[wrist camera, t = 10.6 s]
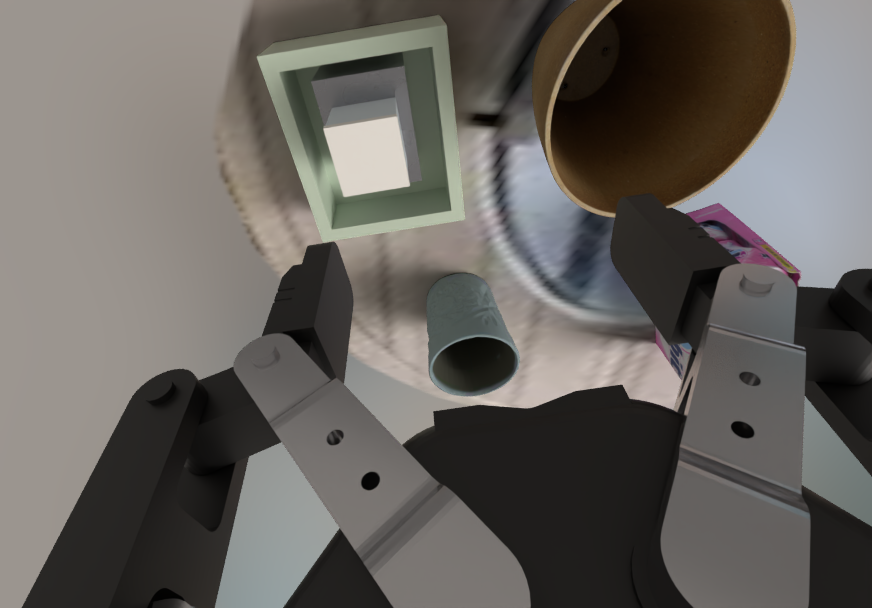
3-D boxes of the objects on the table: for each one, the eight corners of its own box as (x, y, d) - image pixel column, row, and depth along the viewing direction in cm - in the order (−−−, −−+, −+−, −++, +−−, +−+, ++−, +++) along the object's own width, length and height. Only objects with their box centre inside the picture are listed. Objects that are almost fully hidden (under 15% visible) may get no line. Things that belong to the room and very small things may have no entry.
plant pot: (467, 108, 40) (502, 178, 28) (554, -90, 31) (659, -114, 19) (593, 163, 44) (670, 244, 32) (698, 4, 36) (856, 33, 24)
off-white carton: (396, 96, 32) (396, 116, 28) (407, 160, 36) (409, 186, 32) (331, 107, 32) (323, 128, 29) (348, 170, 36) (343, 197, 32)
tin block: (402, 51, 36) (403, 66, 31) (418, 155, 41) (422, 180, 37) (320, 64, 36) (311, 81, 31) (348, 166, 42) (343, 193, 37)
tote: (439, 14, 35) (446, 24, 30) (457, 192, 45) (465, 220, 41) (273, 42, 35) (256, 56, 31) (329, 212, 46) (323, 242, 41)
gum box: (649, 215, 49) (718, 285, 39) (720, 190, 48) (810, 256, 38) (655, 344, 64) (705, 420, 54) (708, 328, 63) (771, 402, 53)
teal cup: (427, 264, 51) (436, 333, 42) (507, 270, 53) (532, 337, 43) (417, 325, 57) (423, 396, 48) (489, 329, 59) (507, 398, 50)
